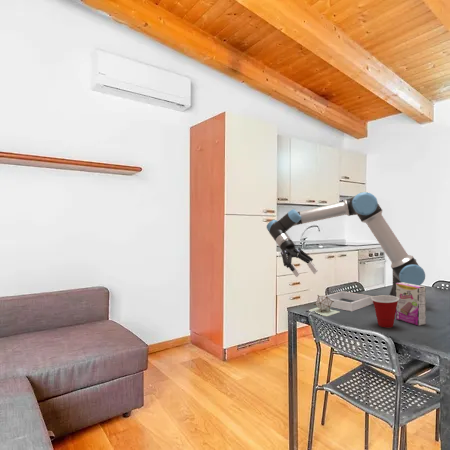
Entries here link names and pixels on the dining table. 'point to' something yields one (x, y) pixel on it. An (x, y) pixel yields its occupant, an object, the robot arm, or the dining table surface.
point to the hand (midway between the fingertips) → (307, 273)
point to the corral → (358, 299)
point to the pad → (325, 312)
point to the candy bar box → (411, 303)
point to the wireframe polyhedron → (323, 303)
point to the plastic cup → (385, 309)
